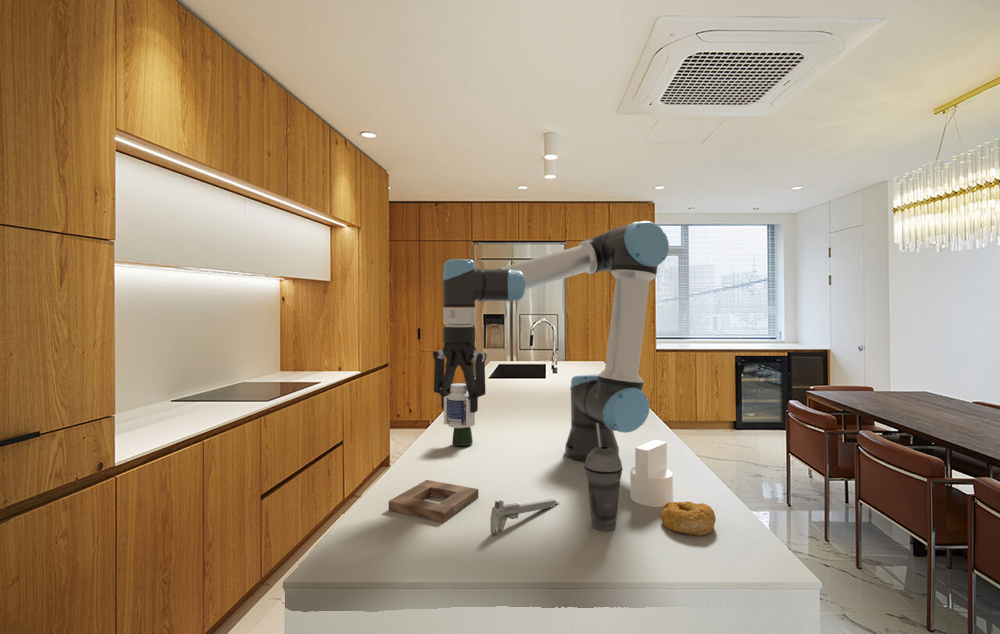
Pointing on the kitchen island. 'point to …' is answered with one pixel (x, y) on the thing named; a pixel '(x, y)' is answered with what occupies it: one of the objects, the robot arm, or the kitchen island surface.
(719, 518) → the kitchen island surface
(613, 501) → the beverage cup
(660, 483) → the cylinder with rectangular tab
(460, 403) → the pill bottle
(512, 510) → the caliper
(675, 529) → the bagel
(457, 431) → the character mug
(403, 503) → the holder block
